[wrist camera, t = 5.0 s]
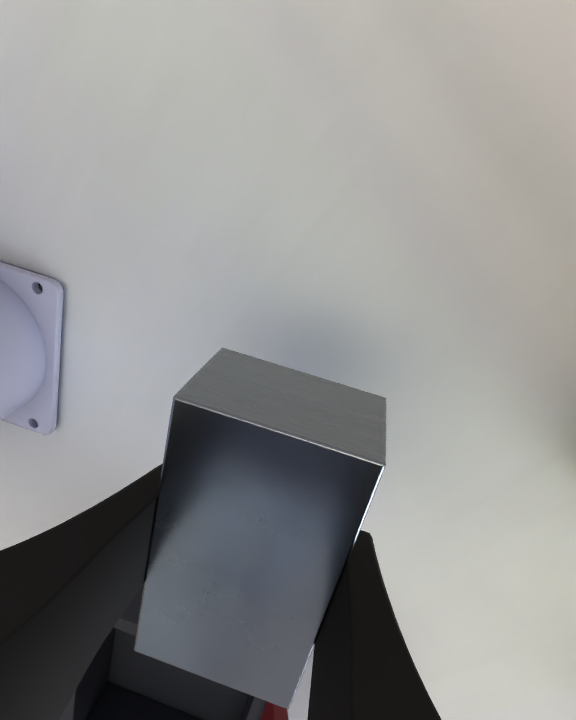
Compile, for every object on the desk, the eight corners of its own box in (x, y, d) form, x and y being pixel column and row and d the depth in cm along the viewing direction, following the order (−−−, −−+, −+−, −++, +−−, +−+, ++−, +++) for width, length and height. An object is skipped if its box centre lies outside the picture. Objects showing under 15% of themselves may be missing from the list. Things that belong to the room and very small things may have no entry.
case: (102, 671, 30) (55, 752, 26) (122, 527, 25) (67, 598, 21) (248, 730, 29) (224, 823, 25) (299, 592, 24) (280, 680, 20)
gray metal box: (178, 566, 15) (132, 651, 12) (221, 346, 12) (172, 396, 9) (307, 612, 15) (288, 711, 12) (387, 397, 12) (386, 464, 9)
